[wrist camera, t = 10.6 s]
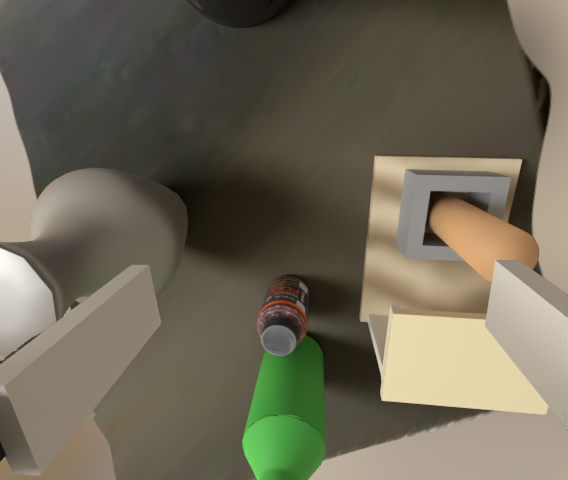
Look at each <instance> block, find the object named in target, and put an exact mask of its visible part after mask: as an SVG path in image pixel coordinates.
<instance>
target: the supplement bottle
mask: <svg viewBox="0 0 568 480" xmlns="http://www.w3.org/2000/svg"><path fill="white" fill-rule="evenodd" d="M309 301H310V294H309V290H308V288H307V286H306V284H305V283H304V282H303V281H302V280H300V279H299V278H296V277H293V276H282V277H279V278H277V279H275V280H274V281H273V282H272V283H271V284H270V286H269V288H268V290H267V293H266V296H265V299H264V302H263V305H262V308H261V310H260V314H259V317H258V321H257V328H258V332H259V335H260V336H261V343H262V345H263V347H264V349H265V350H266V351H267V352H269V353H270V354H273V355H276V356H285V355H288V354H290V353H291V352H292V351H293V350H294V349H295V348H296V345H298V344H299V343H300V342H301V341H302V340H303V338H304V337H305V334H306V331H307V324H308V312H309Z"/></svg>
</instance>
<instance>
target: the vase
mask: <svg viewBox="0 0 568 480" xmlns="http://www.w3.org/2000/svg"><path fill="white" fill-rule="evenodd" d="M187 229H188V217H187V207H186V205H185V204H184V202H183V201H182V199H181V198H180V196H179V195H178V194H177V193H175V192H173V191H172V190H170V189H169V188H167V187H165V186H163V185H162V184H160V183H157V182H155V181H152V180H149V179H146V178H144V177H140V176H137V175H134V174H131V173H128V172H124V171H119V170H114V169H108V168H88V169H81V170H76V171H73V172H70V173H67V174H65V175H63V176H61V177H60V178H58V179H56V180H54V181H53V182H52V183H51V184H50V185H48V186H47V187H46V188H45V190H44V191H43V192H42V194H41V195H40V196H39V198H38V200H37V202H36V204H35V206H34V208H33V212H32V216H31V223H30V234H31V241H28V242H17V243H15V242H13V243H6V242H0V355H2V356H5V357H7V356H8V355H9V354H11V353H12V352H13V351H17V348H19V347H20V346H21V345H23V344H24V343H25V342H27V341H28V340H29V339H31V338H32V337H34V336H36V335H38V334H40V333H42V332H44V331H45V330H46V329H48V328H49V327H50V326H52V325H53V324H54V323H56V322H57V321H58V320H60V319H61V318H62V317H63V316H64V314H65V313H66V311H67V310H68V308H69V307H70V305H71V304H72V303H73V302H74V301H75V300H76V301H78V302H80V303H82V302H83V301H85V300H86V299H87V298H88V297H90V296H91V295H92V294H94V293H95V292H96V291H98V290H99V289H100V288H102V287H103V286H104V285H106V284H107V283H108V282H109V281H111V280H112V279H113V278H115V277H116V276H117V275H119V274H120V273H121V272H123V271H124V270H125V269H127V268H128V267H129V266H131V265H149V267H150V272H151V276H152V281H153V286H154V291H155V296H156V297H158V296H159V295H160V294H161V293H162V292H163V291H164V290H165V289H166V288H167V286H168V285H169V284H170V282H171V281H172V279H173V277H174V275H175V273H176V271H177V269H178V267H179V264H180V261H181V257H182V253H183V249H184V245H185V241H186V237H187Z"/></svg>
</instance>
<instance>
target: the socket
mask: <svg viewBox="0 0 568 480" xmlns="http://www.w3.org/2000/svg"><path fill="white" fill-rule="evenodd" d="M511 178H512V177H508V176H504V175H500V174H496V173H492V172H489V171H455V170H416V169H405V174H404V182H403V190H402V198H401V206H400V213H399V221H398V229H397V237H396V245H397V247H398V248H399V250H400V251H401V253H402V254H403V256H404V257H405V258H407V259H428V260H449V261H465V260H464V259H463V258H461V257H460V256H459V255H458V254H457V253H456V252H455V251H454V250H453V249H452V248H451V247H449V246H448V245H447V244H446V243H445V242H444V241H443V240H442V239H441V238H440V237H439V236H437V235H436V234H435V233H424V231H425V224H426V218H427V211H428V205H429V198H430V191H454V192H469V196H468V201H467V203H469V204H471V205H473V206H475V207H477V208H479V209H481V210H483V211H485V212H487V213H489V214H491V215H493V216H495V217H497V218H499V219H501V220H502V217H503V213H504V209H505V204H506V200H507V195H508V191H509V186H510V182H511Z"/></svg>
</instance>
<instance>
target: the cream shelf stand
mask: <svg viewBox="0 0 568 480" xmlns="http://www.w3.org/2000/svg"><path fill="white" fill-rule="evenodd" d="M486 315H487V314H478V313H462V312H446V311H430V310H413V309H401V308H400V306H399V305H390V312H389V316H387V315H372V314H368V325H369V329H370V333H371V337H372V341H373V345H374V349H375V353H376V357H377V361H378V365H379V369H380V373H381V381H382V383H381V390H380V395H381V399H382V401H393V402H404V403H416V404H428V405H439V406H451V407H463V408H474V409H486V410H497V411H509V412H521V413H533V414H544V415H546V413H547V410H548V407H549V406H548V405H547V404H546V402H545V401H544V400H543V399H542V397H541V396H540V395H539V394H538V392H537V391H536V390H535V389H534V387H533V386H532V385H531V384H530V382H529V381H528V380H527V379H526V377H525V376H524V375H523V374H522V372H521V371H520V370H519V368H518V367H517V366H516V365H515V363H514V362H513V361H512V360H511V358H510V357H509V356H508V355H507V353H506V352H505V351H504V350H503V348H502V347H501V346H500V345H499V343H498V342H497V341H496V340H495V338H494V337H493V336H492V335H491V333H490V332H489V331H488V330H487V328H486V327H485V322H486Z"/></svg>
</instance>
